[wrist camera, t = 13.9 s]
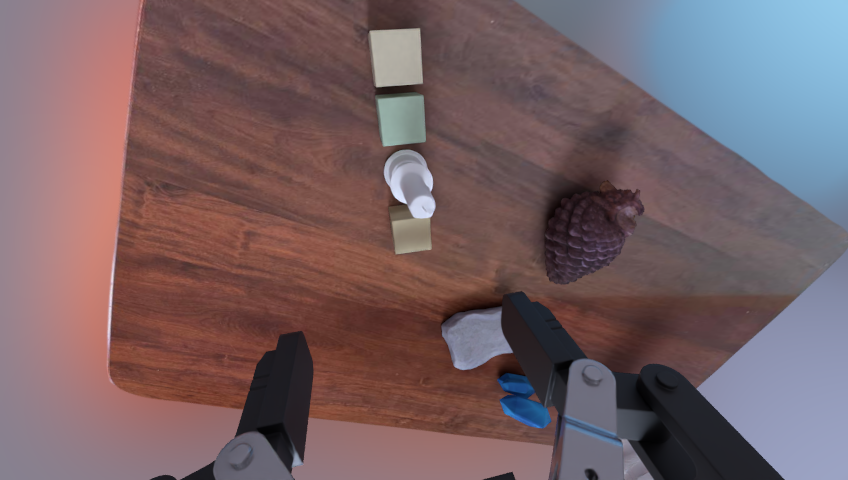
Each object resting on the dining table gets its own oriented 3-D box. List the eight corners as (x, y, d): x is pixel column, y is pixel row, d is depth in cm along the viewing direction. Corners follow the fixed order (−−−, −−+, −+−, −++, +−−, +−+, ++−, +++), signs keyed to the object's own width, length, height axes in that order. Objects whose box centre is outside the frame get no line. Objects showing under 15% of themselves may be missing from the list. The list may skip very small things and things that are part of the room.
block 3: (388, 206, 41) (391, 221, 37) (422, 202, 42) (429, 216, 38) (391, 237, 43) (395, 254, 39) (424, 233, 44) (431, 249, 40)
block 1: (367, 34, 32) (369, 30, 28) (412, 32, 33) (420, 28, 29) (373, 84, 34) (376, 87, 30) (415, 81, 35) (423, 83, 31)
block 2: (374, 95, 35) (377, 98, 31) (416, 91, 35) (423, 95, 32) (380, 137, 37) (382, 146, 33) (418, 134, 38) (426, 142, 34)
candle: (436, 172, 40) (464, 210, 30) (403, 200, 41) (420, 246, 31) (407, 139, 38) (428, 168, 27) (374, 170, 39) (381, 209, 28)
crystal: (514, 392, 53) (573, 417, 55) (503, 355, 61) (555, 378, 63) (490, 421, 56) (547, 444, 58) (482, 381, 64) (533, 403, 66)
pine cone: (579, 274, 53) (578, 317, 45) (523, 246, 54) (513, 285, 47) (659, 183, 41) (675, 222, 34) (585, 152, 43) (585, 182, 35)
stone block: (433, 314, 53) (452, 360, 56) (439, 330, 49) (459, 379, 52) (500, 287, 54) (514, 335, 57) (512, 300, 49) (527, 352, 53)
